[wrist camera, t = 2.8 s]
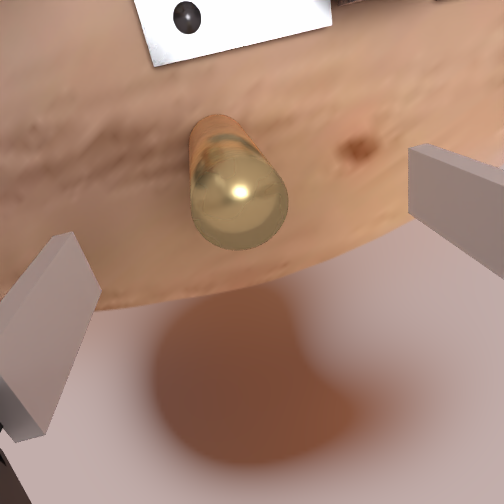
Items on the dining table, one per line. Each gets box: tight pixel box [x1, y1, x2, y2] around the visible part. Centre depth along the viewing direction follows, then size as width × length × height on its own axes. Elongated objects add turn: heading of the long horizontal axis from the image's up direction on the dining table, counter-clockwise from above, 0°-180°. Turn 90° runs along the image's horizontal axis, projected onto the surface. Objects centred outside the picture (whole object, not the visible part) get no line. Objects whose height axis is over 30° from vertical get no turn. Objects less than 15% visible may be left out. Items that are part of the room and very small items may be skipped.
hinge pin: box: [189, 115, 288, 250], centre depth 20 cm, size 4×4×12 cm
